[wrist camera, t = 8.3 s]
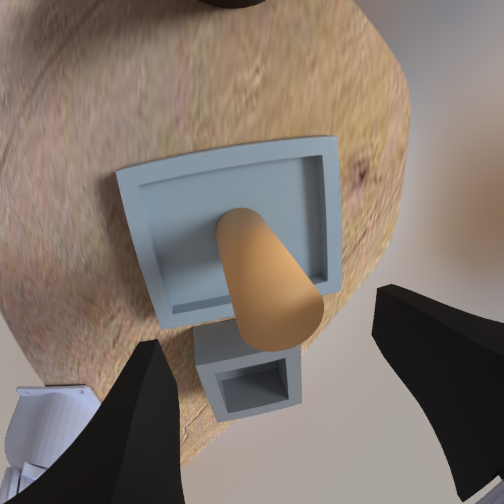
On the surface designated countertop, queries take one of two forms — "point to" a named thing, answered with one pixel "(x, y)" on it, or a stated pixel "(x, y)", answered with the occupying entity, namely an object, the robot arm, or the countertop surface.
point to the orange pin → (265, 284)
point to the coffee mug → (232, 3)
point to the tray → (221, 201)
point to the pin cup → (244, 373)
